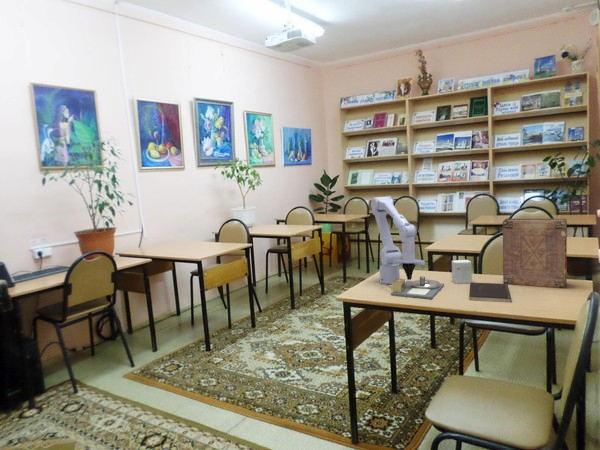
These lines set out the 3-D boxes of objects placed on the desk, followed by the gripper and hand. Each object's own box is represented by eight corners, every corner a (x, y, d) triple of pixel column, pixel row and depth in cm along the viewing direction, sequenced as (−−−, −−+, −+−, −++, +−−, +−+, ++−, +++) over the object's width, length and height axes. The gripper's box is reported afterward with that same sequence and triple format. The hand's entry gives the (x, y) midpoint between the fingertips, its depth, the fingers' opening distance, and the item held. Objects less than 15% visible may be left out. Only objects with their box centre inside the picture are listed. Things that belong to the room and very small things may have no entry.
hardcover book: (469, 301, 179) (469, 296, 178) (470, 287, 200) (470, 282, 200) (511, 303, 172) (511, 298, 172) (507, 288, 194) (507, 283, 193)
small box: (468, 280, 210) (468, 259, 209) (472, 283, 204) (471, 261, 203) (451, 281, 210) (451, 260, 209) (455, 283, 205) (454, 262, 204)
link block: (392, 292, 193) (392, 281, 193) (396, 288, 198) (396, 277, 198) (401, 292, 191) (400, 281, 191) (405, 289, 196) (404, 278, 196)
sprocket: (407, 287, 198) (407, 276, 198) (415, 281, 209) (415, 270, 209) (436, 290, 191) (436, 278, 191) (443, 283, 202) (442, 272, 202)
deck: (391, 295, 192) (391, 293, 192) (407, 282, 212) (407, 280, 212) (431, 299, 182) (431, 297, 182) (444, 285, 203) (444, 283, 203)
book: (566, 283, 194) (567, 218, 191) (566, 288, 186) (567, 221, 183) (505, 279, 208) (505, 218, 204) (502, 283, 200) (502, 220, 197)
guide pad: (407, 294, 189) (407, 293, 189) (412, 289, 196) (412, 287, 196) (425, 295, 185) (425, 294, 185) (430, 290, 192) (430, 289, 192)
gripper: (390, 251, 199) (391, 280, 200) (421, 252, 191) (422, 282, 193) (395, 249, 205) (396, 276, 206) (425, 250, 197) (426, 278, 199)
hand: (409, 279), depth 200 cm, fingers closed
